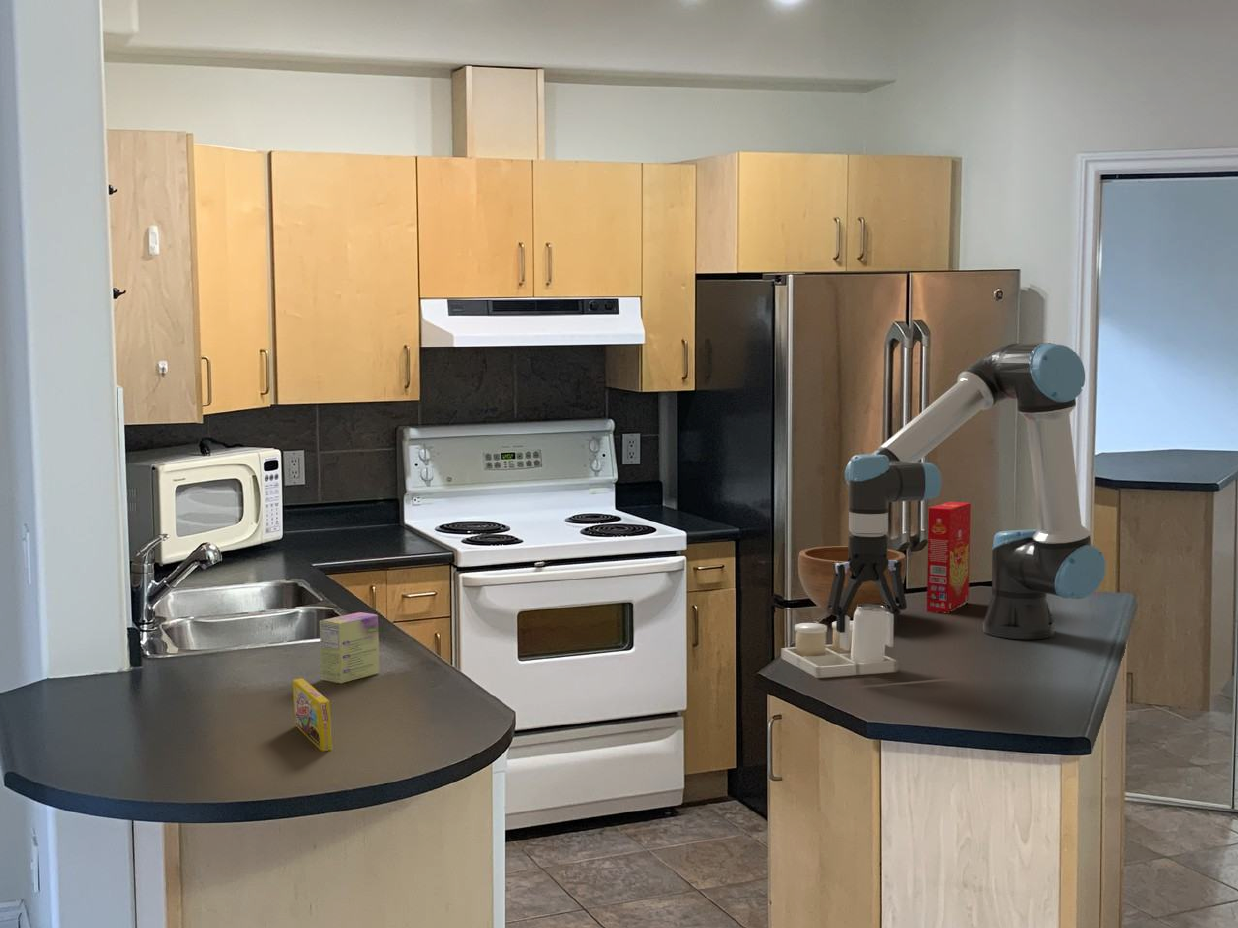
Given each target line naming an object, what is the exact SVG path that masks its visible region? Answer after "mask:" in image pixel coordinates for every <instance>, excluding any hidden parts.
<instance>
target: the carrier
mask: <svg viewBox="0 0 1238 928" xmlns="http://www.w3.org/2000/svg"><path fill="white" fill-rule="evenodd" d="M780 659H781V660H783V661H786V662H787V663H789V664H790V665H792V666H795V667H796V668H798V669H800V670H801V671H802V672H805V673H807V674H809V675H810V676H813V677H814V678H816V679H825V678H836V677H849V676H851V677H852V676H864V675H874V674H876V675H877V674H885V673H887V674H888V673H898V670H899V668H898V664H899V663H898V660H896V659H894V658H892V657H889V656H887V655H885V654H884V661H883V662H871V663H856V662H854V661H852V660H851V653H848V654H838V653H836V652H834V651H833V643H832V644H826V655H821V656H808V657H801V656H799V655H797V654H796V646H794V647H781V648H780Z"/></svg>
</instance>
